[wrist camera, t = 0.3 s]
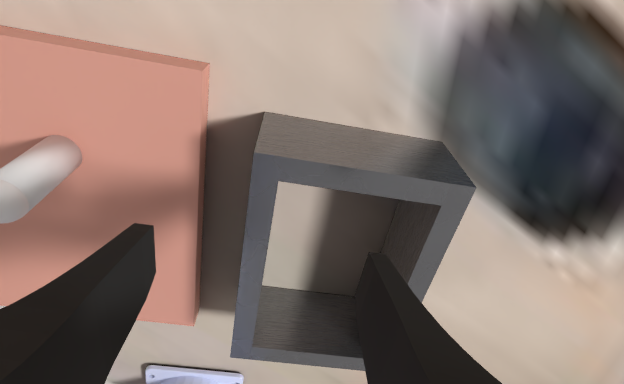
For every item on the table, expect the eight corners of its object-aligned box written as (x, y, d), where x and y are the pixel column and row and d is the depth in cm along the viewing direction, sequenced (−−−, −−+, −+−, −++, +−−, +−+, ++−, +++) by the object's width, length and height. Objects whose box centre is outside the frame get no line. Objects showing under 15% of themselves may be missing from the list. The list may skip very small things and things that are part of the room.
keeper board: (198, 309, 28) (170, 404, 22) (-4, 286, 27) (-93, 381, 21) (209, 63, 19) (164, 111, 13) (-100, 7, 17) (-312, 31, 11)
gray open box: (375, 311, 28) (387, 373, 24) (242, 295, 27) (230, 357, 23) (442, 142, 21) (476, 187, 17) (264, 111, 20) (253, 152, 16)
